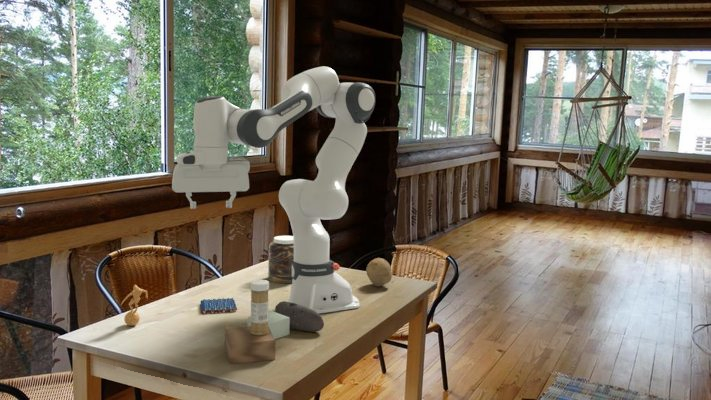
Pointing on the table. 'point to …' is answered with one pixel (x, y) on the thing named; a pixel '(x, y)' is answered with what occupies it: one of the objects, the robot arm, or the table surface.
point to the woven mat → (218, 305)
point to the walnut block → (248, 345)
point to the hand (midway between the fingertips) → (211, 208)
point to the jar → (281, 259)
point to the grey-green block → (276, 324)
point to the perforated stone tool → (300, 316)
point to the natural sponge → (379, 272)
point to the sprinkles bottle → (259, 307)
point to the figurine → (133, 316)
